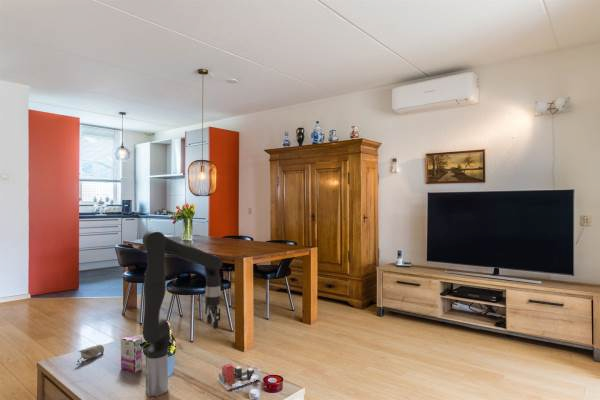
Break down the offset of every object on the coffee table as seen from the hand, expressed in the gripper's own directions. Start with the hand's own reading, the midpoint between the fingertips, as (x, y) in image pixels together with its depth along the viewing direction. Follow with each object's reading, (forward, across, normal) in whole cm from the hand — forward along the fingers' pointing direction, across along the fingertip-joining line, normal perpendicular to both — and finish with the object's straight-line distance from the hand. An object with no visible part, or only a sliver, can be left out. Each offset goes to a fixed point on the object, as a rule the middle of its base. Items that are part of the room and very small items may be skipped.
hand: (212, 326), depth 192 cm
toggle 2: (+23, -16, -14) cm, 31 cm away
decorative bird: (+28, +59, +48) cm, 81 cm away
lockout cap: (+24, -11, -4) cm, 26 cm away
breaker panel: (+25, -13, -9) cm, 29 cm away
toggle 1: (+23, -11, -10) cm, 28 cm away
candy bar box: (+27, +31, +32) cm, 52 cm away
